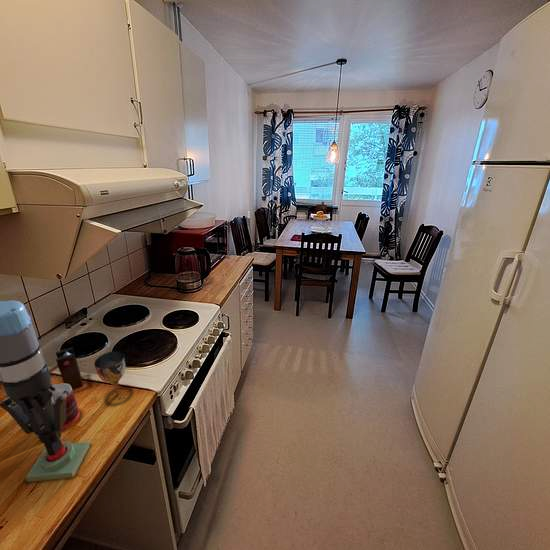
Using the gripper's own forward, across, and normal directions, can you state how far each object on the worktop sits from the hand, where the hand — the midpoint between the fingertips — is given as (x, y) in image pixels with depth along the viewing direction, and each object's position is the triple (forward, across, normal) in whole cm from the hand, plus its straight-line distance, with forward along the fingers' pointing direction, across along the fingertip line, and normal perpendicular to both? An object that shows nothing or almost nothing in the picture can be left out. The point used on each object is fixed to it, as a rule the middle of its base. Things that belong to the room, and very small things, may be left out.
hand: (55, 449), depth 69 cm
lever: (-3, +13, -25) cm, 29 cm away
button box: (+5, 0, 0) cm, 5 cm away
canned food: (+6, +6, -13) cm, 15 cm away
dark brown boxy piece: (+5, +10, -27) cm, 29 cm away
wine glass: (+6, -6, -21) cm, 22 cm away
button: (+2, 0, 0) cm, 2 cm away
